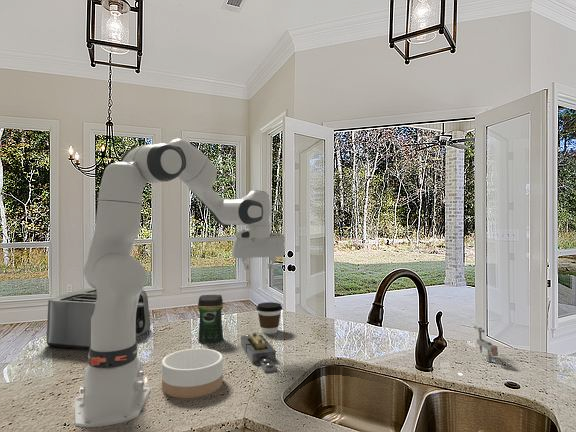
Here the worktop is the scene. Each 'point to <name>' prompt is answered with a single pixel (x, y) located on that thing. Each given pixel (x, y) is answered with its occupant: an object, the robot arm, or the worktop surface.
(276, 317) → the coffee cup
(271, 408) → the worktop surface
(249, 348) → the chain end near
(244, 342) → the chain end far
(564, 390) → the worktop surface
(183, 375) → the bowl
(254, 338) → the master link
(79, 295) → the toaster
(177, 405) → the worktop surface
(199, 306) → the coffee jar
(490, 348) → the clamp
